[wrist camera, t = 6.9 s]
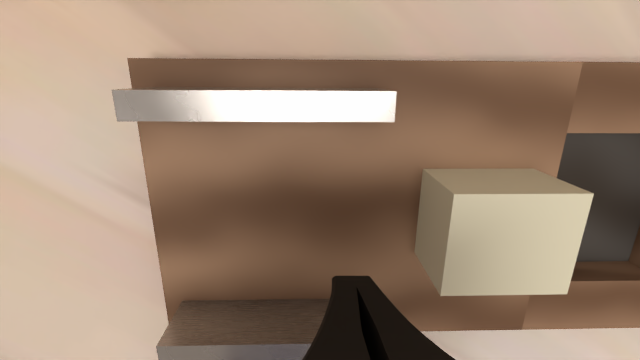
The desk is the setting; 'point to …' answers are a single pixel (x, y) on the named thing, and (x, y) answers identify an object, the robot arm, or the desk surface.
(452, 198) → the sage block
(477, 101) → the tunnel board
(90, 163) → the desk surface
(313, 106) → the tunnel walls
